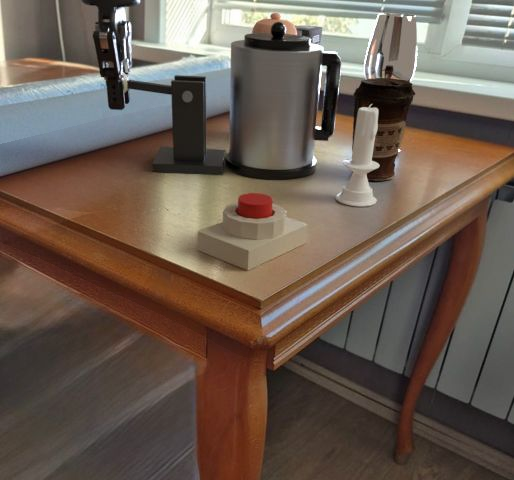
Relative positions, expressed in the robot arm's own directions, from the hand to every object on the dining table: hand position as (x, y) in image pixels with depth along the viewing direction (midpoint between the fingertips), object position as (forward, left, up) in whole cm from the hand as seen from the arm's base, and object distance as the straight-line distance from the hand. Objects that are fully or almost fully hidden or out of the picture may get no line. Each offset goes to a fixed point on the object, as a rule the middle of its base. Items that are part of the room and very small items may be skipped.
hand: (119, 105), depth 86 cm
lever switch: (+5, 0, +1) cm, 5 cm away
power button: (+19, -30, -4) cm, 36 cm away
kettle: (+23, +1, -8) cm, 24 cm away
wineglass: (+40, +12, -8) cm, 42 cm away
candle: (+33, -13, -8) cm, 36 cm away
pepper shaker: (+22, +16, -8) cm, 28 cm away
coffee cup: (+37, -2, -8) cm, 38 cm away
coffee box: (+27, +32, -8) cm, 43 cm away
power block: (+19, -30, -8) cm, 36 cm away
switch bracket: (+10, 0, -8) cm, 13 cm away
